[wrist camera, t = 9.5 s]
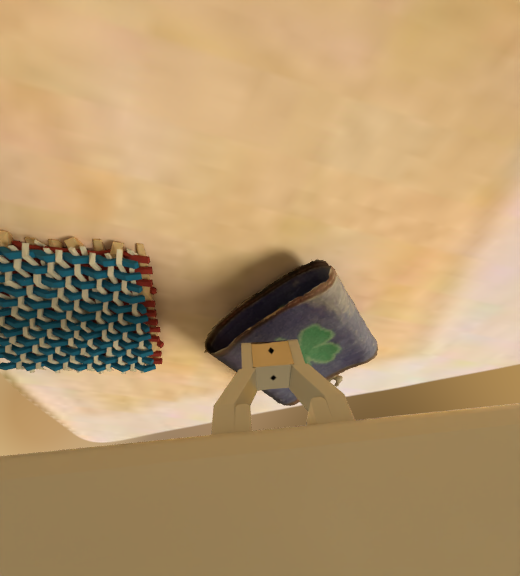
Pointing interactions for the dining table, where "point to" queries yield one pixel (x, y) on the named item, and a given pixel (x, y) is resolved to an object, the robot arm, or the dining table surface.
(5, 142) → the dining table surface
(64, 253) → the woven mat
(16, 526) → the robot arm
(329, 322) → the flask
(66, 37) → the dining table surface
